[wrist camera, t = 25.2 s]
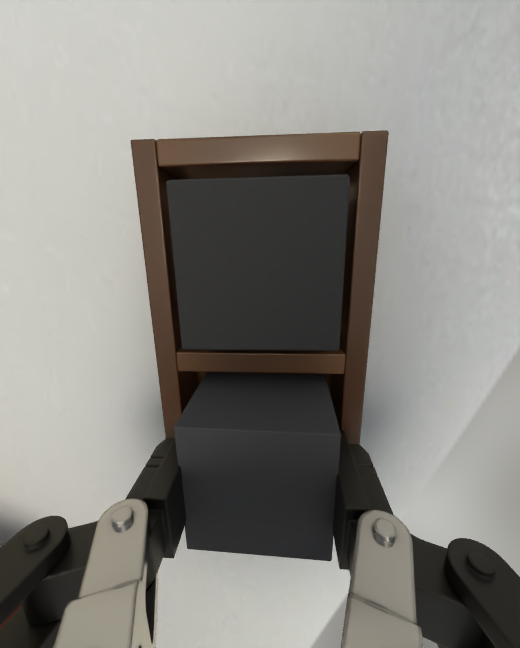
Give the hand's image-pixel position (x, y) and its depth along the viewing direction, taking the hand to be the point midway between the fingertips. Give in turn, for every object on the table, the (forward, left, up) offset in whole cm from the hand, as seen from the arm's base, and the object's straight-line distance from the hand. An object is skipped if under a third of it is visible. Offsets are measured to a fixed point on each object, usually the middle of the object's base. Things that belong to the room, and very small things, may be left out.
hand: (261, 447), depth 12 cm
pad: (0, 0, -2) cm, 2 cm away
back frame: (0, -3, -3) cm, 5 cm away
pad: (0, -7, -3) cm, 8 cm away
